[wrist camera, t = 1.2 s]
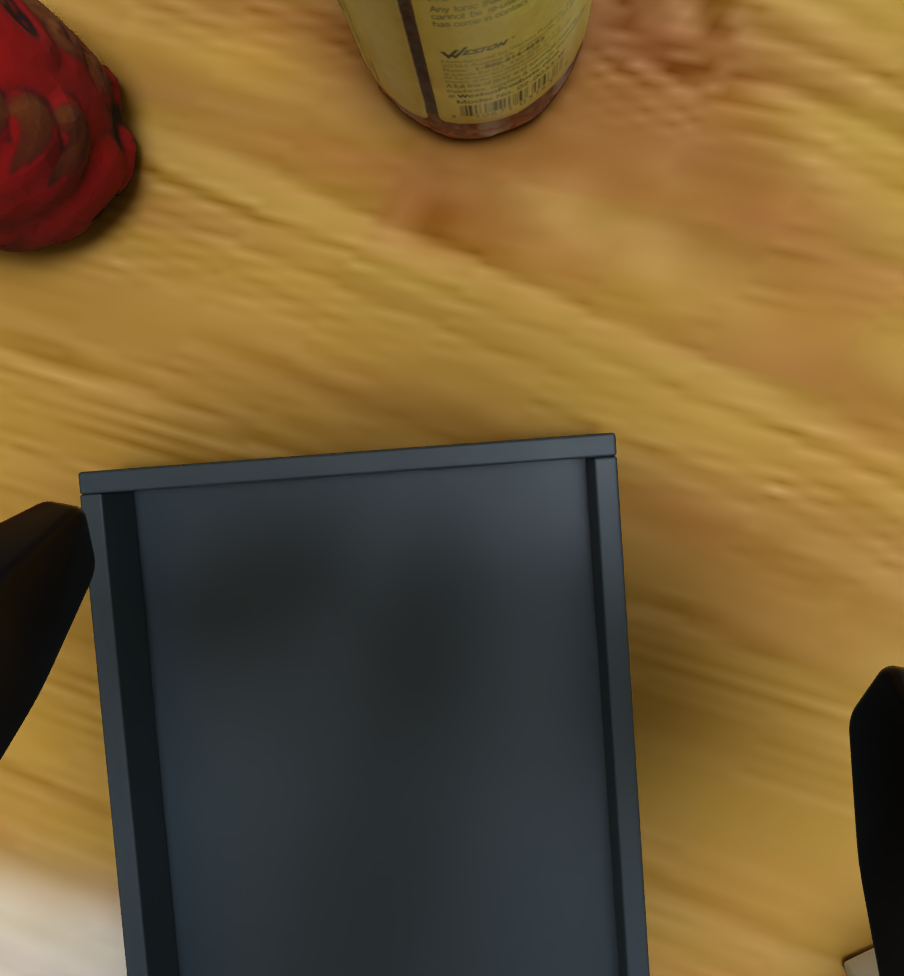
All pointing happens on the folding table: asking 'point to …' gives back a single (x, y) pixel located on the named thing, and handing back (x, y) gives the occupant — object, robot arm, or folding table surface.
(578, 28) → the sauce bottle
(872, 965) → the cosmetic box
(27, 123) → the red clay folk toy
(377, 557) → the tray
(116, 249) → the folding table surface
